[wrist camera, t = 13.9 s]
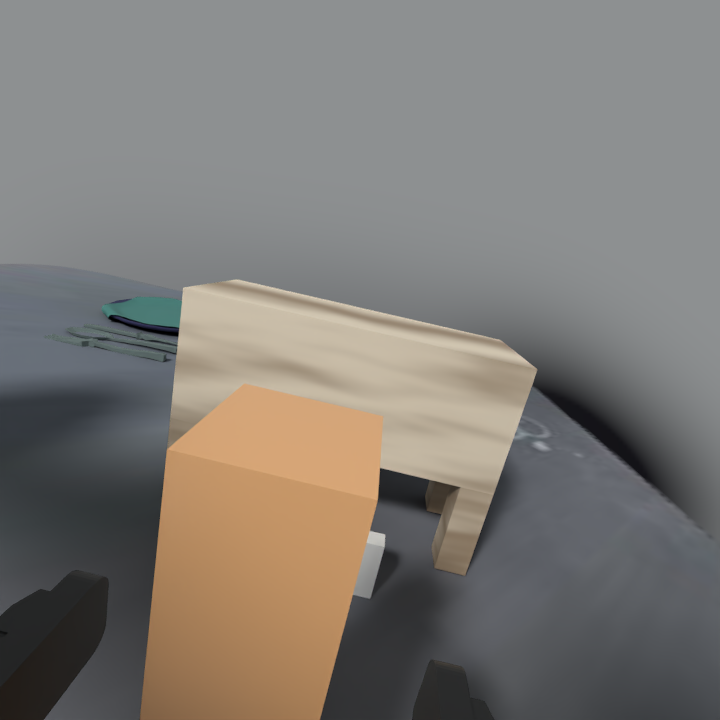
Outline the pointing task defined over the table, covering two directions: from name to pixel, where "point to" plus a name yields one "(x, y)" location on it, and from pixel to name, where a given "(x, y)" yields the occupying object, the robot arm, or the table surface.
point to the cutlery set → (134, 312)
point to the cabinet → (365, 388)
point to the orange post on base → (260, 557)
